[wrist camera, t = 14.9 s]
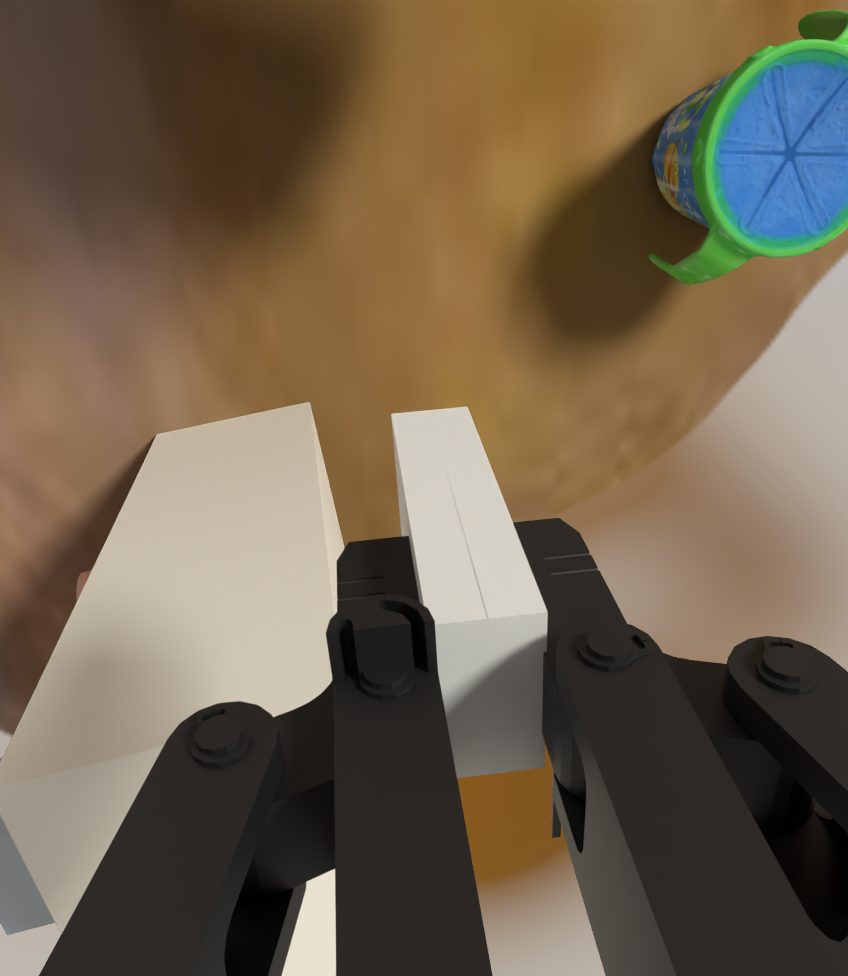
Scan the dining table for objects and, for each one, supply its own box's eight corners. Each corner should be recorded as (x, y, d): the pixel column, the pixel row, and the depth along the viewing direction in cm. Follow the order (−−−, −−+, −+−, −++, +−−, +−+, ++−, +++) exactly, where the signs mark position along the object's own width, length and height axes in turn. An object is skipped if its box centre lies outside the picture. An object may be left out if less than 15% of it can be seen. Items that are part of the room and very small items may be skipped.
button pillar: (309, 401, 52) (344, 701, 23) (353, 584, 57) (426, 1016, 28) (156, 434, 51) (-13, 789, 22) (215, 616, 57) (143, 1096, 27)
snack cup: (679, 306, 54) (762, 335, 44) (566, 208, 50) (631, 217, 41) (841, 104, 50) (967, 89, 41) (733, -17, 47) (845, -63, 38)
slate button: (104, 732, 31) (77, 816, 27) (139, 815, 33) (119, 905, 29) (-21, 763, 31) (-67, 852, 27) (21, 845, 32) (-16, 941, 28)
